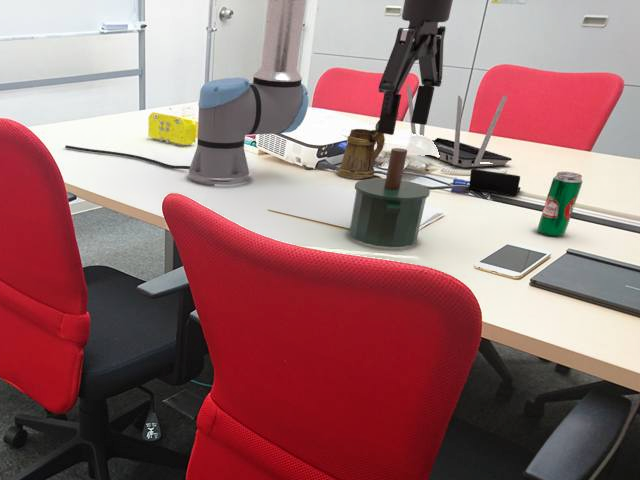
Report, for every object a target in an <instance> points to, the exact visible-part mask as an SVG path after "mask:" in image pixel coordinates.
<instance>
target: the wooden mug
mask: <svg viewBox="0 0 640 480" xmlns="http://www.w3.org/2000/svg"><path fill="white" fill-rule="evenodd" d="M397 118H399V113H398V114H397ZM378 126H379V120H378V121H377V122H376V124H375V127H374V129H372V130H370V129H366V128H354V129H351V130H350V133H349V135H348V136H347V139H346V142H347V143H346V146H345V150H344V153H343V156H342V160H341V163H340V166H339V167H338V171H337V175H338V176H340V177H342V178H347V179H353V180H365V179H373V177H374V175H375V171H376V170H375V168H374V163H375V161H376V159H377V158H379V155H380V154H381V153H382V151H383V149H384V147H385V134H383V133H377V131H378ZM375 146H376V148H375Z"/></svg>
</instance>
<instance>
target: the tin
mask: <svg viewBox="0 0 640 480" xmlns="http://www.w3.org/2000/svg"><path fill="white" fill-rule="evenodd" d="M426 200H427V198H425V199H421V200H415V201H394V200H385V199H379V198H374V197H370V196H367V195H364V194H362V193H359V192H358V191H356V190H355V195H354V201H353V207H352V213H351V219H350V225H349V232H348V233H349V236H350V237H351V238H353V239H354V240H355V241H358V242H361V243H363V244H367V245H370V246H375V247H382V248H383V247H384V248H385V247H386V248H403V247H408V246H412V245H414V244H416V242H417V240H418V236H419V231H420V227H421V222H422V218H423V214H424V209H425V205H426Z"/></svg>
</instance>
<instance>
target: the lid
mask: <svg viewBox="0 0 640 480" xmlns="http://www.w3.org/2000/svg"><path fill="white" fill-rule="evenodd" d="M407 155H408V149H406V148H401V147H393V148H391V150H390V155H389V160H388V166H387V170H386V176H385V178H381V177H380V178H378V177H377V178H368V179H360V180H357V181H356V182H355V183H354V189H355V192H356V191H358V192H359V193H362V194H364V195H367V196H370V197H374V198H379V199H385V200H394V201H415V200H421V199H425V198H426V199H427V198H428V197H430V193H431V191H430V189H429V188H428V187H426V186H425V185H422V184H419V183H416V182H412V181H408V180H403V175H404V169H405V164H406V160H407Z"/></svg>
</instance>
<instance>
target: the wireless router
mask: <svg viewBox="0 0 640 480" xmlns="http://www.w3.org/2000/svg"><path fill="white" fill-rule="evenodd" d="M422 86H424V85H422ZM406 93H407V101H408V103H407V104H408V111H409V121H410V131H411V134H412V133H413V134H416V135H417V129H416V123H411V120H412V116H413V111H414V103H413V95H412V87H411V86H410V85H409V84H407V83H406ZM508 96H509V94H505V95H504V96H503V97H502V98H501V99H500V101H499V104H498V106H497V108H496V111H495V113H494V115H493V118H492V120H491V123H490V125H489V127H488V129H487V132H486V134H485V136H484V138H483V141H482V142H481V143H482V144H481V145H480V147H476V146H473V145H470V144H467V143H463V142H460V139H461V125H462V108H463V99H462V97H461V96H460V95H457V104H456V115H455V133H454V140H450V139H446V138H441V137H437V138H435V139H431V140H432V141H433V142H434V144H435V145H436V147H437V149H438V152H439V155H440V157H439V158H440V159H439V160H441V161H444V162H445V163H446V162H447V163H448V164H452V165H453V166H457V167H461V168H477V167H494V166H495V167H496V166H505V165H506V164H507V163H508V162H509V161H510V162H511V161H513V160H512V158H511V157H508V156H505V155H502V154H499V153H496V152H492V151H489V150H486V149H487V147H488V144H489V142H490V139H491V137H492V135H493V132H494V130H495V127H496V125H497V122H498V120H499V118H500V116H501V113H502V110H503V108H504V105H505V103H506V102H507V98H508ZM425 126H426V125H422V124H419V133H418V135H419V134H420V135H423V136H424V137H425V128H426V127H425ZM480 162H490V163H493V164H480ZM472 164H473V165H472Z"/></svg>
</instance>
